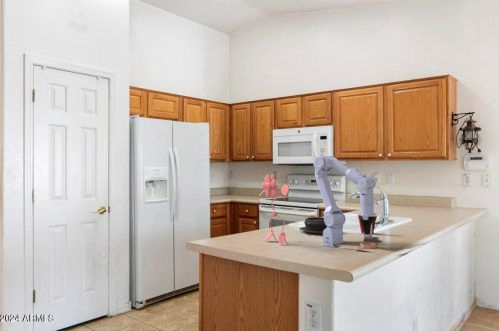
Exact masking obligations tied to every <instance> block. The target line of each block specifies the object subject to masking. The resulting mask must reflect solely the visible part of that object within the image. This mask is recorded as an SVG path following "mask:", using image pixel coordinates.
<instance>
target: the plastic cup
mask: <svg viewBox="0 0 499 331" xmlns="http://www.w3.org/2000/svg"><path fill="white" fill-rule="evenodd" d="M378 216H379V215H374V216H370V217H375V218H374V221H373V224H372V235H373V234H375V233H374V232H375V228H376V227H375V226H376V221H377V218H378ZM362 217H363V216H361V215H360V213H357V218H358V221H359V228H360V232H361V234H362V235H364V229H363V225H362V223H361V221H360V218H362Z"/></svg>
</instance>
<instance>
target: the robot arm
mask: <svg viewBox="0 0 499 331" xmlns="http://www.w3.org/2000/svg"><path fill="white" fill-rule="evenodd" d="M312 163H313V167H314V177H315V180H316V183H317V186H318V190H319V193H320V196H321V198H322V199H321V200H322V201H323V204H324V208H325V209H324V211H323V217H324V222H325V224H326V225H327V228H326V229H324V231H323V234H322V244H321V245H322V246H325V247H331V248H338V247H340V245H339V244H343V243H344V224H345V223H346V215H345V214H344V213H343V211H342V209H341V208H340V207H339V206H338V205H337V202H336V200H335V197H334V194H333V191H332V187H331V185H330V183H329V182H330V181H329V179H328V175H329V173H330V172H331V171H332V170H333V169H335V170H337V171H338V172H340V173H342V174H344V175H345V176H346V179H347V180H348V181H350V182H352V183H353V184H355V185H357V188H358V189H359V193H360V194H359V195H360V196H359V197H360V198H359V199H360V204H359V206H360V213H359V214H360V215H361V216H363V217H362V218H360V221H361V223H362V225H363V229H364V234H365V235H370V230H371V224H373V221H374V218H375V217H370V216H374V215H377V214H378V213H375V206H374V205H375V204H374V200H375V198H374V189H375V187H376V184H377V182H376V180H375V178H373V177H372V176H367V174H366V173H362V172H361V171H360V170H359V169H358V168H354V167H353V168H350V167H348V166H346V165H345V164H344V163H342V162H341V161H340V160H338V158H336V157H334V156H333V155H318V156H316V157H315V158H314V160H313V162H312ZM364 234H363V235H364ZM337 244H338V245H337Z"/></svg>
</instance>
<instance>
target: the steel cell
mask: <svg viewBox="0 0 499 331" xmlns="http://www.w3.org/2000/svg"><path fill="white" fill-rule="evenodd" d="M372 237H373V234H372V224H371V230H370V235H365V234H363V239H364V238H366V239H372Z"/></svg>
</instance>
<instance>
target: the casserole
mask: <svg viewBox="0 0 499 331" xmlns="http://www.w3.org/2000/svg"><path fill="white" fill-rule="evenodd" d="M303 224H304V226H303V227H299V230H300V231H303V232H306V233H308V234H311V235H323V231H324V229H326V228H327V225H326V224H325V222H324V216H321V217H320V216H312V217H311V216H310V217H307V218H305V220H304V221H303Z"/></svg>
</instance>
